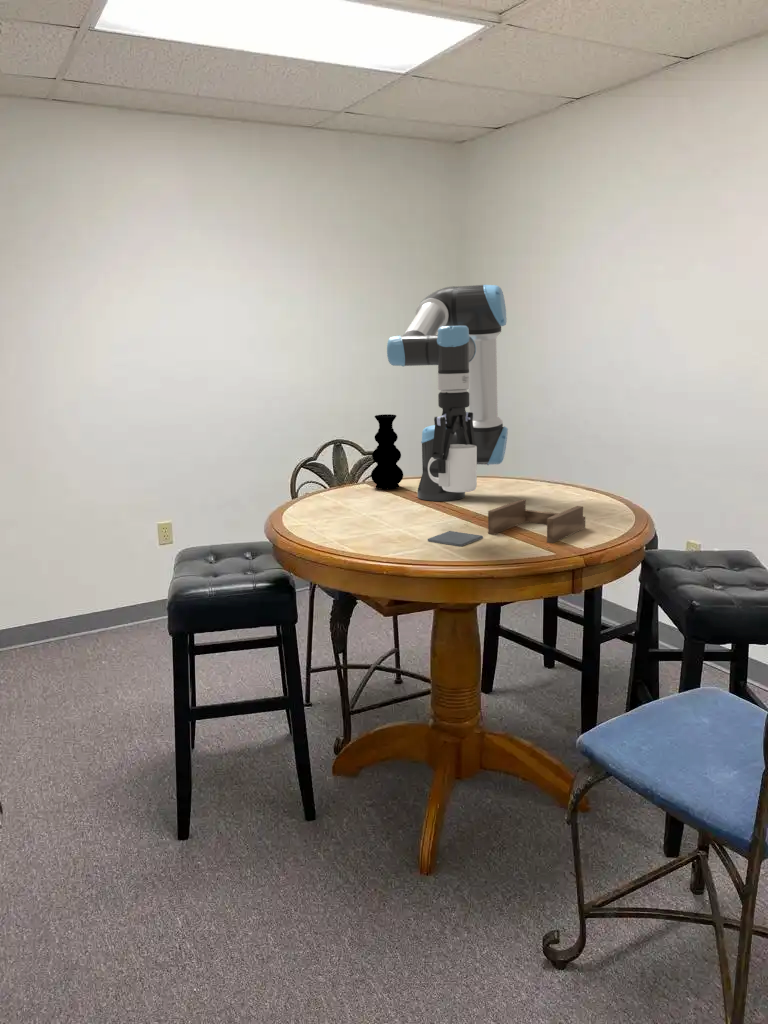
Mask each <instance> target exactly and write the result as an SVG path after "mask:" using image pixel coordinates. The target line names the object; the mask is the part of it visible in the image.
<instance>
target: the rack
mask: <svg viewBox="0 0 768 1024" xmlns="http://www.w3.org/2000/svg"><path fill="white" fill-rule="evenodd" d="M526 505H527V501H526V499H518V500H515V501H513V502H510V503H507V504H504V505H501V506H499V507H498V506H497V507H495V508H493V509H490V510H488V511H487V518H488V519H487V520H488V521H487V523H488V524H487V526H488V527H487V528H488V529H487V530H488V532H487V533H488V534H489V535H496V534H498V533H501V532H503V531H505V530H508V529H510V528H514V527H516V526H518V525H520V524H523V523H525V522H526V523H533V524H534V523H535V524H540V525H546V543H549V544H554V543H557V542H558V541H560V540H562V539H565V538H566V537H569V536H570V535H573V534H575V533H577V532H579V531H581V530H584V529H586V516H585V515H584V506H581V505H576V506H574V507H571V508H569V509H566V510H564V511H561V512H560V513H557V512H551V511H541V510H533V509H526V508H527V507H526Z"/></svg>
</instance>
